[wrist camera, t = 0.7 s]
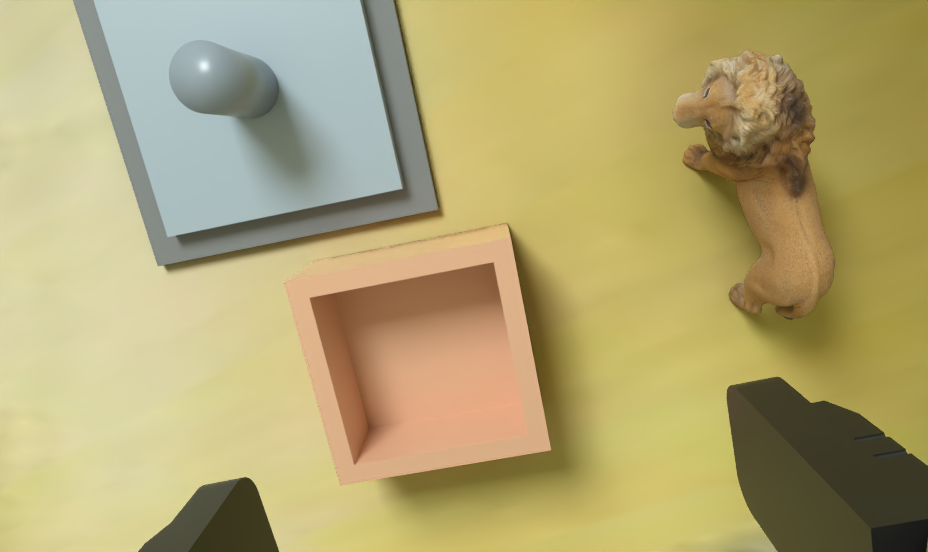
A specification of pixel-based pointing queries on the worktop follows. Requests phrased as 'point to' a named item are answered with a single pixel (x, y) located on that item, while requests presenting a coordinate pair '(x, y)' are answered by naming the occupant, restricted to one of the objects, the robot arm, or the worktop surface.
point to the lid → (251, 105)
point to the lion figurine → (764, 175)
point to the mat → (295, 223)
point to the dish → (420, 355)
